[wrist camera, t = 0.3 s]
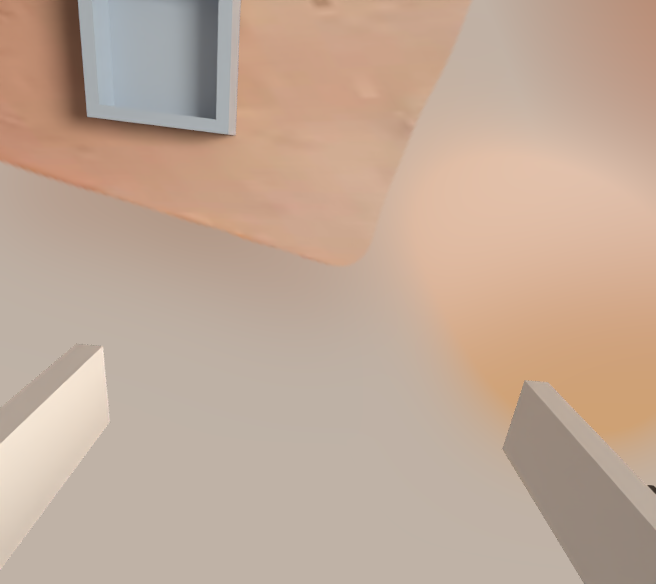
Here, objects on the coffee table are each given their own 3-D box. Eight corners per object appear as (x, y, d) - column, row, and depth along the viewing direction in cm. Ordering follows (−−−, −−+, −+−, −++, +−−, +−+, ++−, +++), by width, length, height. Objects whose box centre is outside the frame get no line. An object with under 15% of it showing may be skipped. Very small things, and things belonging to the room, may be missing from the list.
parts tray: (96, -37, 31) (73, -56, 28) (241, -15, 31) (233, -31, 28) (106, 118, 34) (87, 116, 31) (235, 135, 35) (228, 134, 32)
